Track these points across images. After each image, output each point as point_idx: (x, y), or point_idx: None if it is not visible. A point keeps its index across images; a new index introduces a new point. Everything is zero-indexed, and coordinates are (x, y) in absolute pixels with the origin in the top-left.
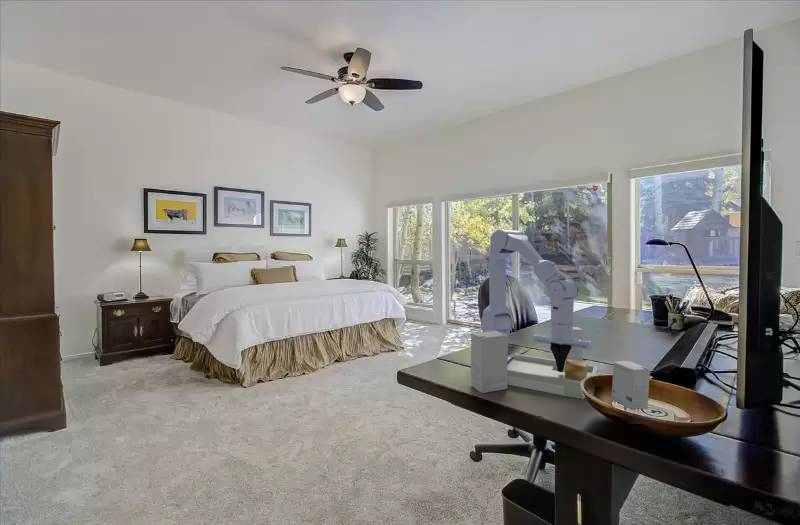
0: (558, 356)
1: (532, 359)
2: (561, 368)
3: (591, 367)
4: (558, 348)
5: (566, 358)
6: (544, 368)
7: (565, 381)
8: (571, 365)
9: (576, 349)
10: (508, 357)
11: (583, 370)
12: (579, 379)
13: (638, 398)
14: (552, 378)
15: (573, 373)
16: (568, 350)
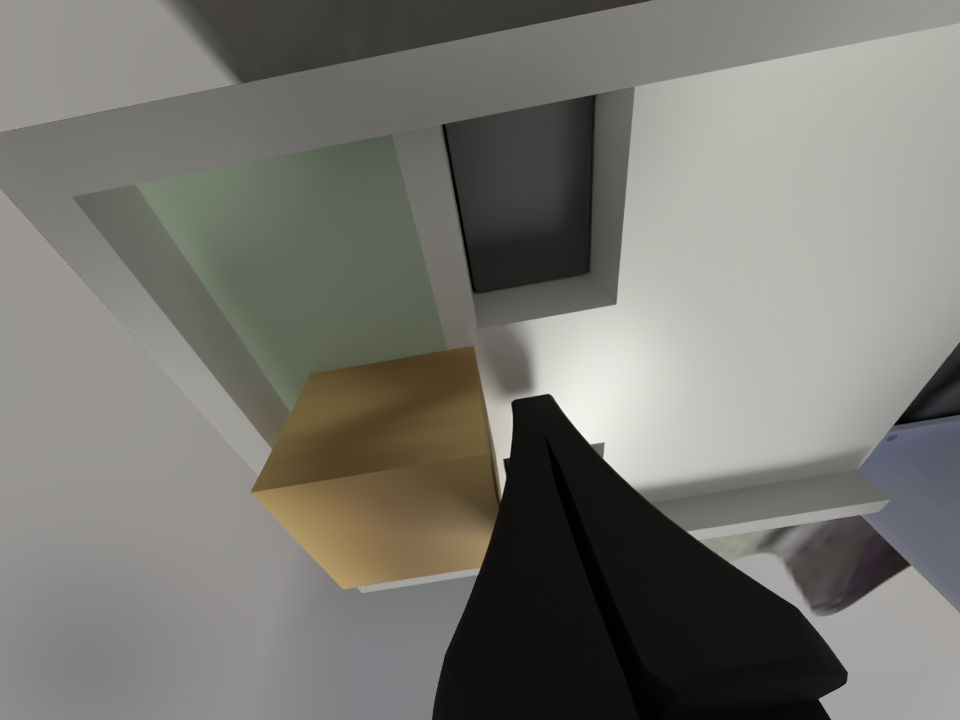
0: (597, 525)
1: (746, 505)
2: (524, 419)
3: None
4: (668, 698)
5: None
6: (655, 439)
7: (350, 65)
8: (411, 456)
9: None
10: None
11: (292, 448)
12: (352, 372)
13: None
14: (545, 24)
15: (396, 393)
16: (450, 710)
